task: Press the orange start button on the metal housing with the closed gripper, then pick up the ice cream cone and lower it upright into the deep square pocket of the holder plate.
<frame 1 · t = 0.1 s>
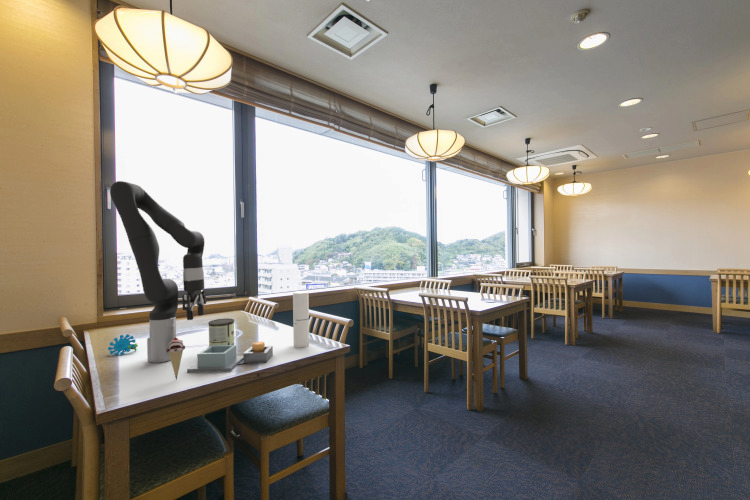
hand: (195, 317, 134), 17 cm above the table, tool pointing down, fingers open, 8 cm apart
button housing: (258, 359, 133), on the table
coffee can: (222, 353, 142), on the table
ice cream cone: (176, 380, 112), on the table
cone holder: (217, 365, 127), on the table
start button: (258, 347, 133), point 5 cm above the table, slide at 0.0 cm
cylindrical container: (301, 345, 151), on the table
blue knobby piece: (123, 353, 142), on the table
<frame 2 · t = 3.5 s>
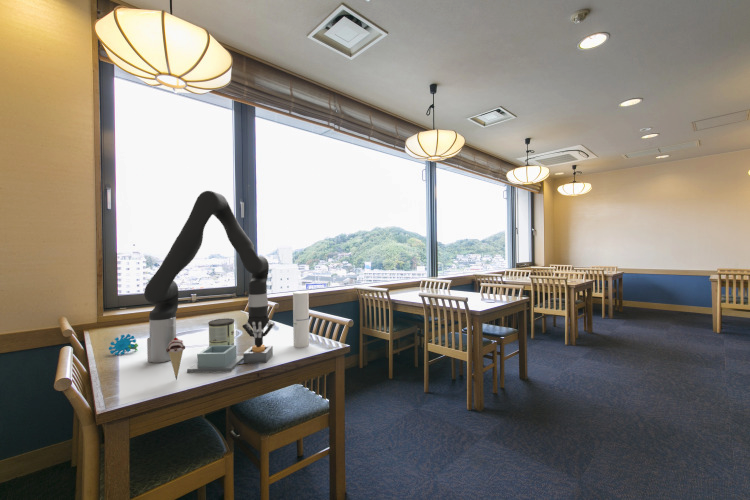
hand: (258, 346, 133), 5 cm above the table, tool pointing down, fingers closed
start button: (258, 349, 133), point 4 cm above the table, slide at 1.2 cm, touching gripper
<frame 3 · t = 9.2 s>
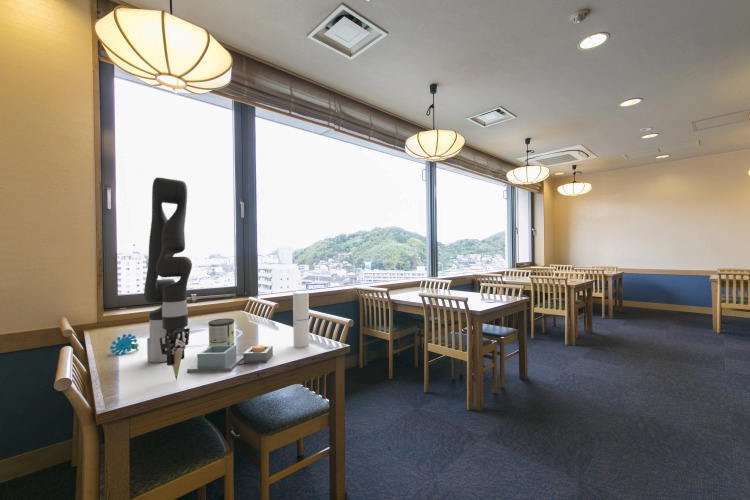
hand: (175, 361, 112), 6 cm above the table, tool pointing down, fingers closed on ice cream cone, 5 cm apart
ice cream cone: (176, 380, 112), on the table, touching gripper
start button: (258, 350, 133), point 3 cm above the table, slide at 1.5 cm, touching button housing
when the fingers open (9 cm above the table, at t = 15.8 s): ice cream cone stays where it is, resting on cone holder.
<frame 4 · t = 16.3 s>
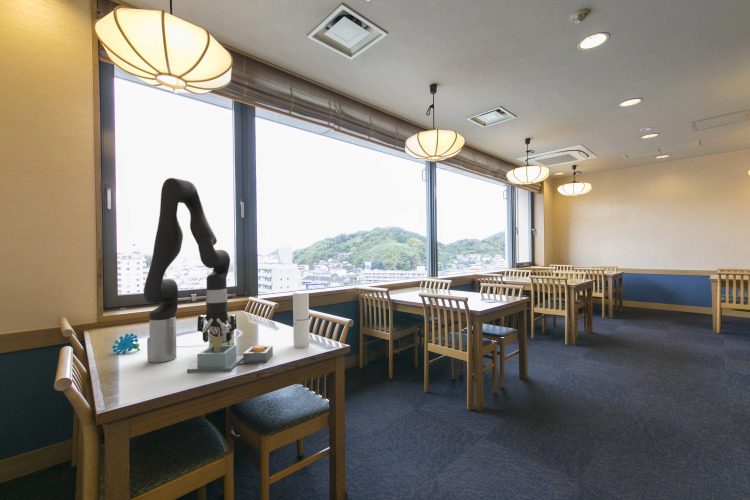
hand: (217, 341, 127), 9 cm above the table, tool pointing down, fingers open, 8 cm apart
ice cream cone: (217, 362, 127), point 1 cm above the table, touching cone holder
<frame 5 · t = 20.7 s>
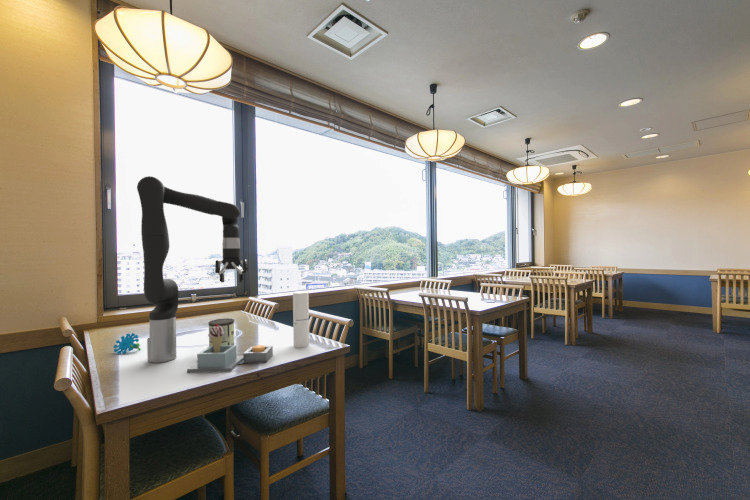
hand: (231, 282, 150), 30 cm above the table, tool pointing down, fingers open, 8 cm apart
at the end: start button slide at 1.5 cm; ice cream cone 0.2 cm off-centre on the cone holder, point 1.0 cm above the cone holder's base; ice cream cone tilted 1° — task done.
